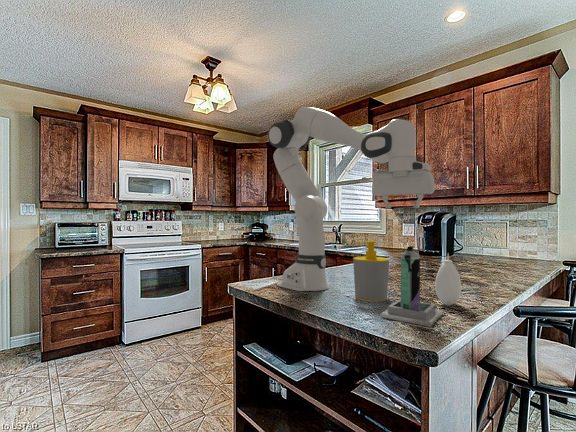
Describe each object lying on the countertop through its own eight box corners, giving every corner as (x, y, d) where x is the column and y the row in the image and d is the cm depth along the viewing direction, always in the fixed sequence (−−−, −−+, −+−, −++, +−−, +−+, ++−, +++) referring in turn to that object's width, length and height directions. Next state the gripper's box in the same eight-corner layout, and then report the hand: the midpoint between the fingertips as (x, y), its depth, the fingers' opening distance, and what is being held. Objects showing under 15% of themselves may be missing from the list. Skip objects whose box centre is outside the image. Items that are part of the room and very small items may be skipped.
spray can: (421, 315, 96) (421, 247, 96) (401, 314, 97) (401, 246, 97) (418, 310, 101) (418, 245, 101) (399, 309, 103) (399, 245, 103)
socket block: (381, 317, 98) (381, 306, 98) (396, 307, 109) (396, 297, 109) (430, 326, 90) (430, 315, 90) (442, 314, 101) (442, 304, 101)
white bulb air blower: (446, 300, 118) (446, 251, 118) (465, 306, 111) (466, 253, 111) (430, 303, 115) (430, 251, 115) (450, 308, 108) (450, 254, 108)
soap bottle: (352, 293, 130) (352, 239, 130) (386, 294, 128) (387, 240, 128) (353, 301, 117) (353, 242, 117) (391, 303, 115) (391, 242, 115)
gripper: (369, 168, 114) (369, 208, 114) (431, 163, 102) (431, 207, 102) (376, 171, 119) (376, 208, 119) (436, 166, 107) (436, 208, 107)
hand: (402, 208), depth 111 cm, fingers open, 8 cm apart
